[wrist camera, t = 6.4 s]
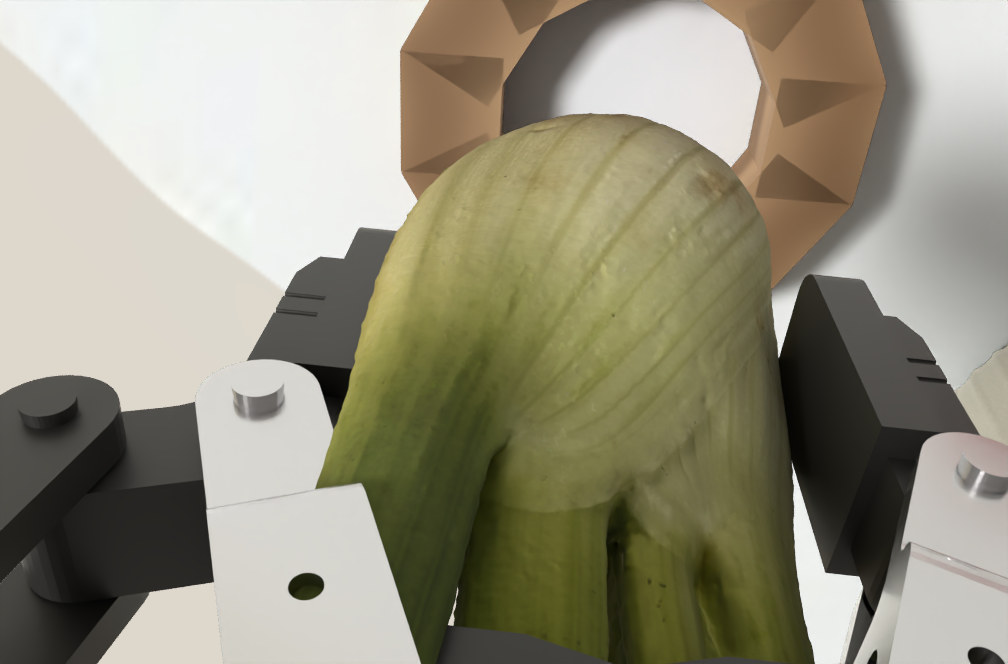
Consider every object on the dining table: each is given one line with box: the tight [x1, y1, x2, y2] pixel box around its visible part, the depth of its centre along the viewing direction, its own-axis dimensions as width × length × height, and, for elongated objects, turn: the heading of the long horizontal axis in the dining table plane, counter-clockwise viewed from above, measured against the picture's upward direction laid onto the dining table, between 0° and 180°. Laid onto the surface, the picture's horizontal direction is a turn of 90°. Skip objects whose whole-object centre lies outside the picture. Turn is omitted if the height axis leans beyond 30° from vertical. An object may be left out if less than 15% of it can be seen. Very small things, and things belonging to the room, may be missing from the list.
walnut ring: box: [400, 0, 886, 290], centre depth 28 cm, size 14×14×2 cm
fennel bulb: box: [292, 113, 815, 664], centre depth 11 cm, size 6×5×12 cm
